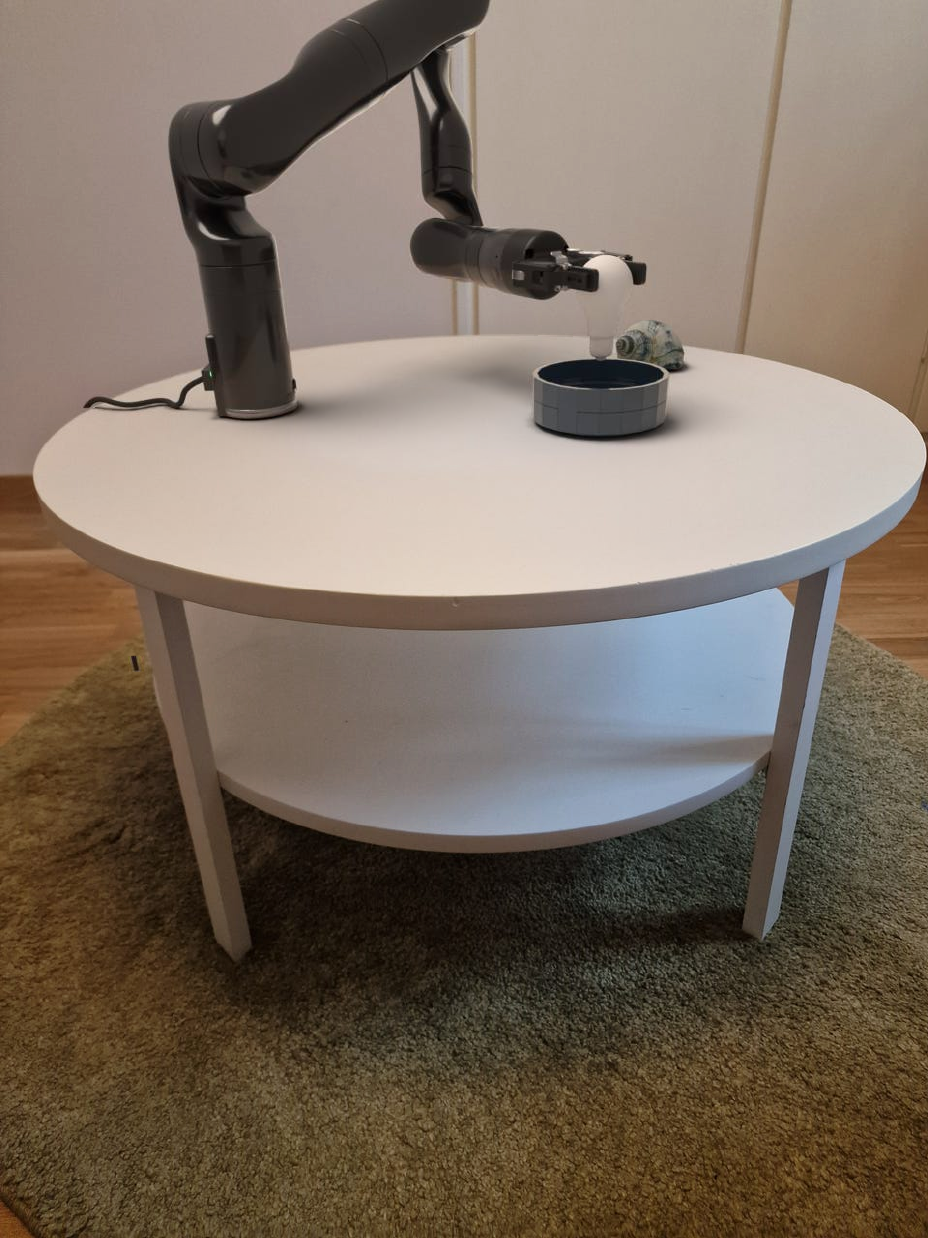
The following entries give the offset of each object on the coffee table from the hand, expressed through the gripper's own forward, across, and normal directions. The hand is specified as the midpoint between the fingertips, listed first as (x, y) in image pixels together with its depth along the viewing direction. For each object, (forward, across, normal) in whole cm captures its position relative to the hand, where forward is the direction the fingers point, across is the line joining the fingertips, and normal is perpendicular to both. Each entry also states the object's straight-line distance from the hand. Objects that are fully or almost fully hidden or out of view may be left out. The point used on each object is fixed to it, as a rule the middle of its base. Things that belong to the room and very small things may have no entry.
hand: (620, 277), depth 90 cm
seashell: (-17, +22, +16) cm, 33 cm away
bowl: (-2, 0, +16) cm, 16 cm away
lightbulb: (-2, 0, +9) cm, 10 cm away
